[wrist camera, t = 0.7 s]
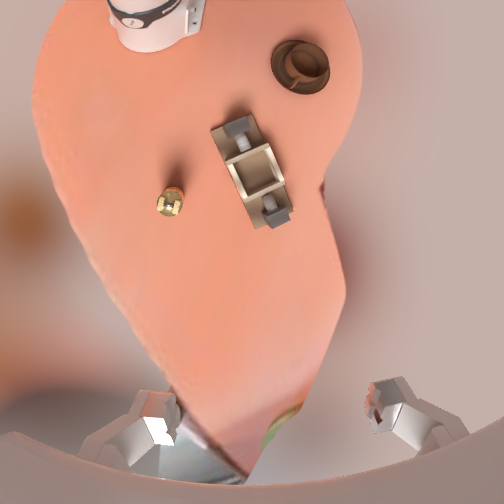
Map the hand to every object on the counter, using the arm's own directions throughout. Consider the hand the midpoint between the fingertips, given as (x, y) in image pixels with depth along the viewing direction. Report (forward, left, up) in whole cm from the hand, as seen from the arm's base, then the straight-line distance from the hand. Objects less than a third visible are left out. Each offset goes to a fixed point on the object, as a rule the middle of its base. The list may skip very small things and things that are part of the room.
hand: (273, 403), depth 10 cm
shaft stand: (-9, +6, -45) cm, 46 cm away
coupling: (-1, -7, -45) cm, 45 cm away
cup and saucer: (-32, +9, -45) cm, 56 cm away
